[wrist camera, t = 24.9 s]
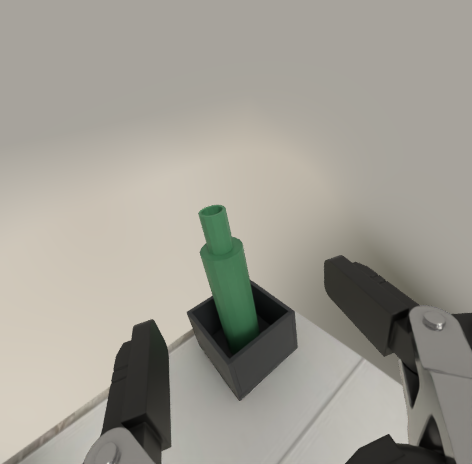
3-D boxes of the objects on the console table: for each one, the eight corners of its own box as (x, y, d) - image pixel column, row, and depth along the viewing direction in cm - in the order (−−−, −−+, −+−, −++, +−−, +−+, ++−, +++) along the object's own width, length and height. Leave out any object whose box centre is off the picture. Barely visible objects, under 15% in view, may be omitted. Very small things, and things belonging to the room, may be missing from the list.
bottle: (254, 324, 40) (227, 197, 29) (266, 350, 36) (240, 212, 25) (224, 336, 39) (186, 209, 28) (234, 364, 35) (192, 226, 24)
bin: (251, 307, 45) (244, 275, 41) (297, 347, 36) (294, 311, 33) (199, 345, 40) (186, 312, 36) (239, 401, 31) (228, 365, 28)
